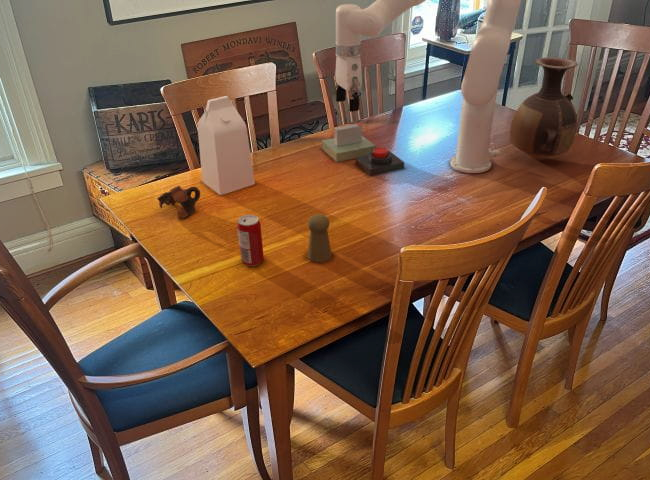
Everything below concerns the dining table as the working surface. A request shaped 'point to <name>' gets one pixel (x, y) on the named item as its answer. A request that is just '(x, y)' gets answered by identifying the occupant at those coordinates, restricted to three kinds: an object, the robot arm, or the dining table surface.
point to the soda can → (250, 240)
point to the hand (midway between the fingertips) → (347, 105)
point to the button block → (379, 163)
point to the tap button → (380, 152)
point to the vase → (546, 115)
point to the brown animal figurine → (181, 199)
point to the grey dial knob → (348, 134)
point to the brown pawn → (319, 239)
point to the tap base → (347, 149)
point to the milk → (224, 148)
